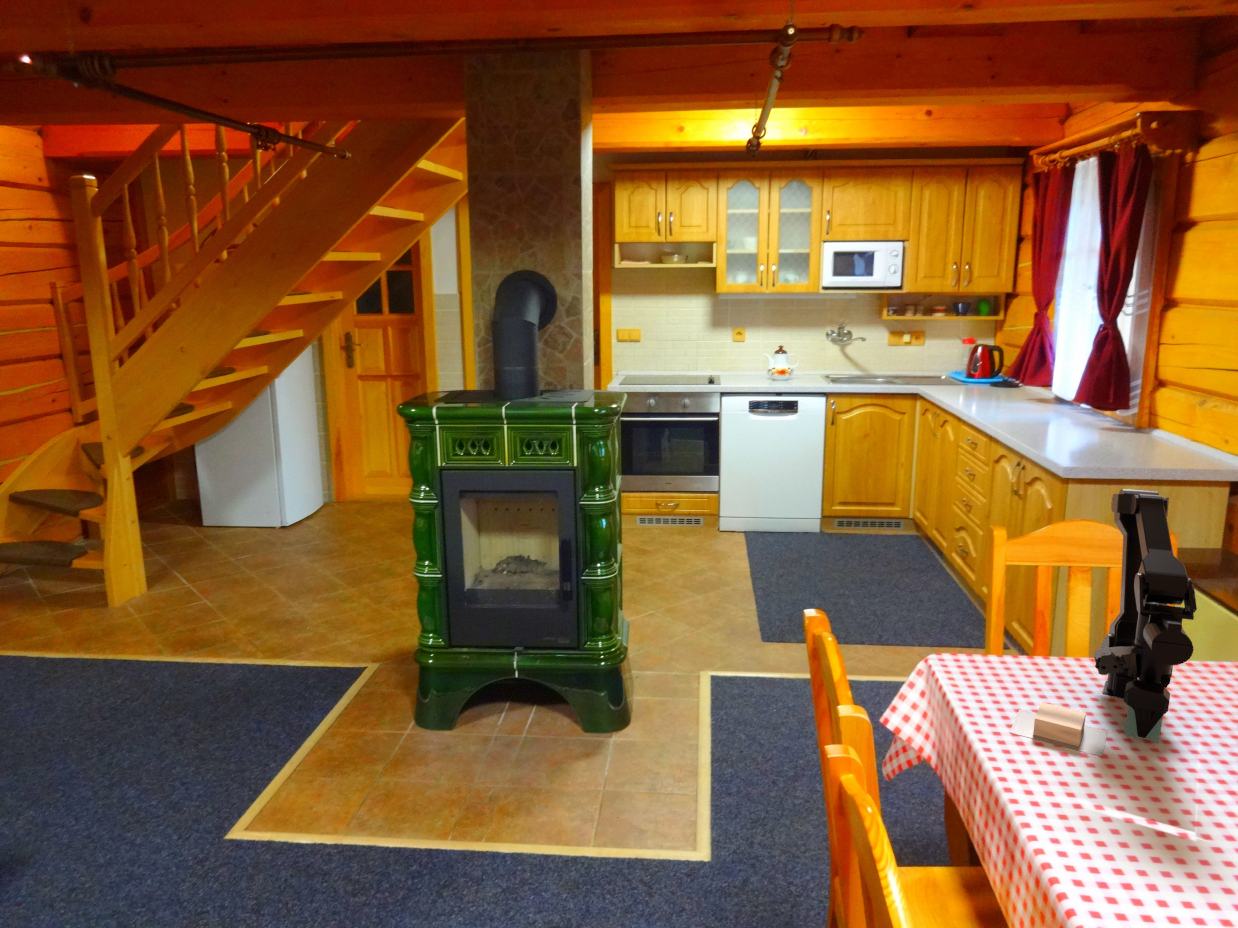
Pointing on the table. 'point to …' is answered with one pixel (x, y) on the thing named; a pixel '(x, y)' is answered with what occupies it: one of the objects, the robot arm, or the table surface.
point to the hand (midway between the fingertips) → (1143, 725)
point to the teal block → (1132, 728)
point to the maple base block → (1059, 723)
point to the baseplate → (1089, 742)
